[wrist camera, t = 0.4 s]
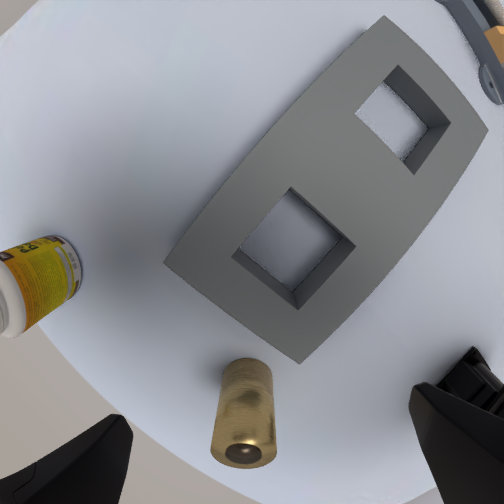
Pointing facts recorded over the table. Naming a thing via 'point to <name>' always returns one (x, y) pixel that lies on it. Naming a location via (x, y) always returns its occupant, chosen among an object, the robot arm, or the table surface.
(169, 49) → the table surface
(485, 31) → the vise
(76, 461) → the robot arm
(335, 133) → the jig
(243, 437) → the cylinder
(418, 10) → the table surface
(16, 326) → the supplement bottle
